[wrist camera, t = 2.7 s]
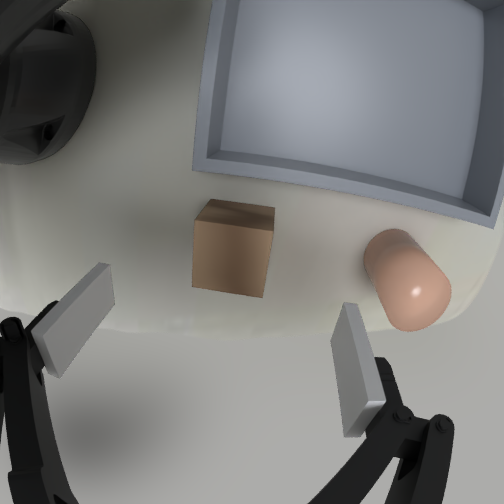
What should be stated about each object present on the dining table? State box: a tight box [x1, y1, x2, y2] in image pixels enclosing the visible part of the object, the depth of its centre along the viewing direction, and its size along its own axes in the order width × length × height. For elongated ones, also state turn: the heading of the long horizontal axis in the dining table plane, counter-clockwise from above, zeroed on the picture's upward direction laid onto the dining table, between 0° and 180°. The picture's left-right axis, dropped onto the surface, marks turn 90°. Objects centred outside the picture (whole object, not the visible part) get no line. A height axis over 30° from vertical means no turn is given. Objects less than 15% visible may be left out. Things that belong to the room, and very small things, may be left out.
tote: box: [192, 0, 504, 229], centre depth 15 cm, size 22×20×5 cm
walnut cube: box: [192, 199, 275, 298], centre depth 22 cm, size 5×5×5 cm
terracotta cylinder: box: [364, 229, 451, 332], centre depth 21 cm, size 5×5×7 cm
